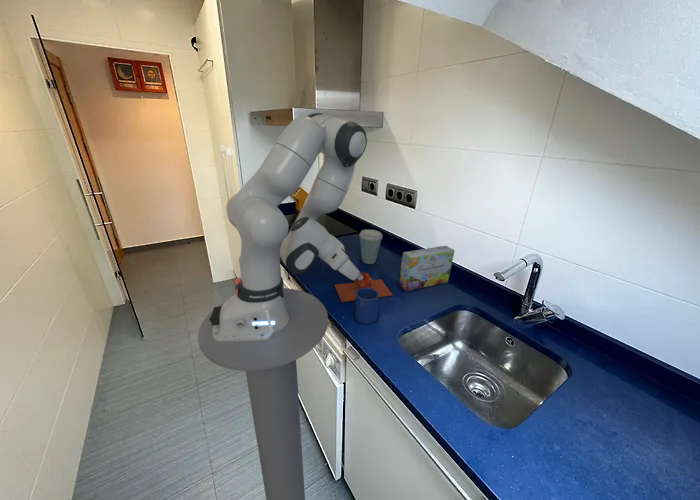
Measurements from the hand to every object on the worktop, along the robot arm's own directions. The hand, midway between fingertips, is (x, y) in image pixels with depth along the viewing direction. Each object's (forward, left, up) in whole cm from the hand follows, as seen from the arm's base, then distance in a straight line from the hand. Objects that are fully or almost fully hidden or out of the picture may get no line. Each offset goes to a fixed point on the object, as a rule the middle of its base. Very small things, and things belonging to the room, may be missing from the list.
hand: (356, 272), depth 106 cm
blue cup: (-1, -16, -8) cm, 18 cm away
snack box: (+29, -1, -9) cm, 30 cm away
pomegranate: (+3, 0, -8) cm, 9 cm away
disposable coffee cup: (+14, +24, -9) cm, 29 cm away
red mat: (+3, 0, -8) cm, 9 cm away
